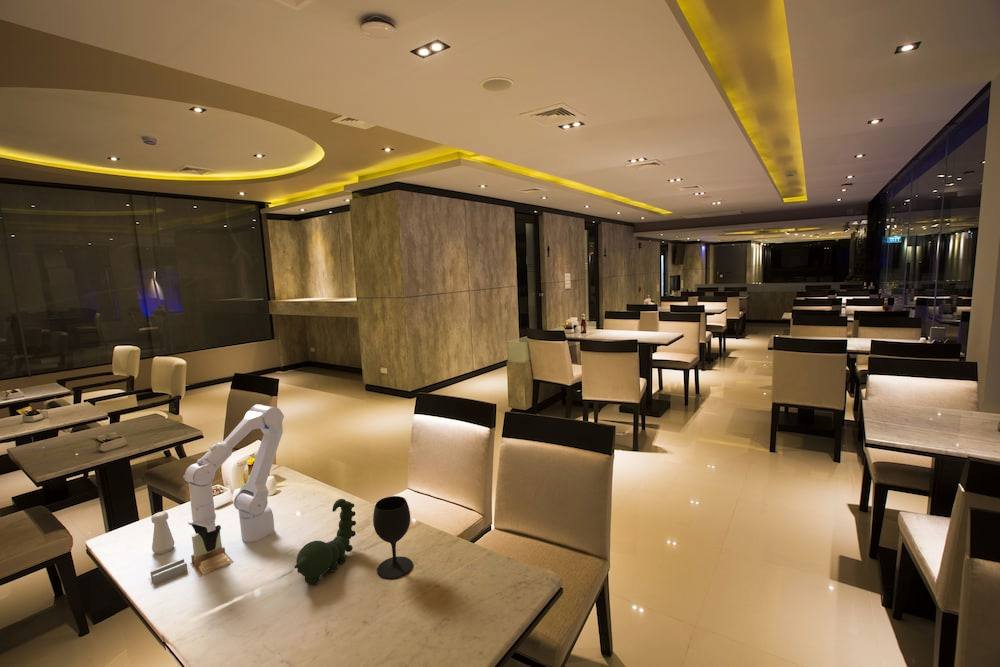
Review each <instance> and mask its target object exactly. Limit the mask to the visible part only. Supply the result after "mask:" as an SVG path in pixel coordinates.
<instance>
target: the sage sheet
mask: <svg viewBox="0 0 1000 667" xmlns="http://www.w3.org/2000/svg"><path fill="white" fill-rule="evenodd" d="M191 542H192V549H193V554H194V558H197V557H199V556H202V555H204V554H207V553H209V552H212V551H214V550H212V551H209V552H207V551H206V549H205V546H204V542H203V540H202V538H201V536H200V535H199V534H198V533H194V534H192V535H191ZM221 544H222V536H221V530H220V531H219V534H218V536H217V541H216V547H215V550H217V549H219V548H222V547H223V544H222V545H221Z"/></svg>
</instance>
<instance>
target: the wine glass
mask: <svg viewBox="0 0 1000 667" xmlns="http://www.w3.org/2000/svg"><path fill="white" fill-rule="evenodd" d="M372 520H373V521H372V522H373V528H374V532H375V534H376V535H377V536H378V537H379V538H380V539H381V540H383V541H384V542H385V543H388V544H390V545H391V553H392V557H389V558H387V559H384V560H383V561H382V562H381V563H379V564H378V566H377V568H376V574H377V575H378V576H379V577H380V578H381V579H383V580H398V579H401V578H403V577H405V576H407V575H408V574H409V573H411V571H412V570H413V568H414V564H413V560H412V559H410V558H409V557H406V556H399V555H398V556H397V550H396V549H397V546H396V545H397V543H398V542H400V541H401V540H402V539H403V538H404V536H405V535H407V532H408V531H409V528H410V524H411V511H410V507H409V504H408V501H407V500H406V498H405V497H403V496H398V495H391V496H386V497H384V498H380V499H379V500H377V502H376V503H375V505H374V510H373V515H372Z"/></svg>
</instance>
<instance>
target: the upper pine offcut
mask: <svg viewBox="0 0 1000 667" xmlns="http://www.w3.org/2000/svg"><path fill="white" fill-rule="evenodd" d="M225 561H227V557H226V556H225V554H224V553H222V554H219V555H217V556H215V557H212V558H210V559H207V560H205V561H202V562H201V566H202V568H203V569H204V570H206V569H209V568H211V567H214V566H216V565H218V564H221V563H223V562H225Z"/></svg>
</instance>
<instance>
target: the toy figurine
mask: <svg viewBox="0 0 1000 667" xmlns="http://www.w3.org/2000/svg"><path fill="white" fill-rule="evenodd" d="M354 507H355V504H354V502H353V503H352V502H351V501H347V500H346V499H344V498H339V499H337V500H335V502H334V503H333V506H332V512H334V513H335V512H336V511H337V509H338V508H340V513H339V519H340V520H339V521H338V530H337V531H336V535H335V537H334V538H333V540H329V541H328V542H325V541H322V540H313V541H310V542H308V543H305V545H303V546H302V548H301V549H300V550H299V552H298V554H297V557H296V562H295V563H296V564H295V565H294V569H297V574H300V575H301V576H302V577H304V583H306V584H307V585H309V586H315V585H317V584H318V583H319V582H320V580H321V576H323V575H324V574H325V573H326V572H327V571H332V572H334V571H335V572H336V570H338V568H339V563H340V564H344V563H345V562H346V560H347V557H346V555H345V554H346V552H347V553H351V552H352V551H353V548H354V547H353V545H351V544H350V542H351V541H350V539H351V538H352V537H355V536H356V535H357V534H356V530H353V529H352V528H353V526H356V525H357V521H356V520H353V518H354V516H356V511H355V510H353V508H354Z"/></svg>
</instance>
